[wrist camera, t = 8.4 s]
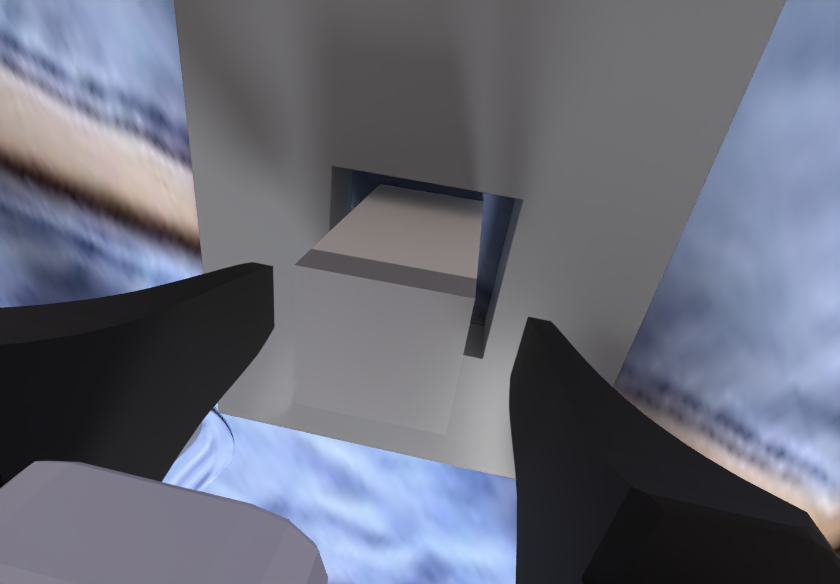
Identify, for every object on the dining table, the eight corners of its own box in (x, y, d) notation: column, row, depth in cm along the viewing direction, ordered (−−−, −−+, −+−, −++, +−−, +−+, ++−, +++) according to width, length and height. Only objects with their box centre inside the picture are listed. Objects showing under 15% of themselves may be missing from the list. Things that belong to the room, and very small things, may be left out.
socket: (558, 446, 21) (566, 490, 19) (246, 379, 22) (218, 412, 20) (736, 9, 12) (788, -5, 10) (217, -63, 14) (164, -90, 11)
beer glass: (199, 490, 27) (-90, 893, 14) (107, 418, 25) (-327, 799, 12) (266, 446, 24) (-14, 899, 11) (168, 363, 22) (-308, 778, 9)
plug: (464, 294, 18) (445, 435, 11) (372, 277, 18) (295, 403, 11) (483, 201, 16) (474, 298, 9) (380, 184, 16) (294, 264, 9)
